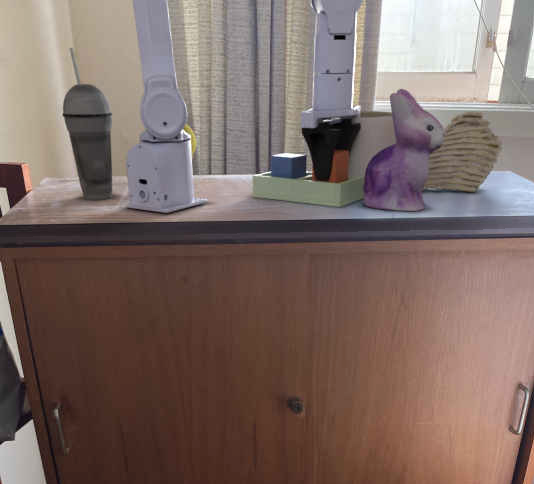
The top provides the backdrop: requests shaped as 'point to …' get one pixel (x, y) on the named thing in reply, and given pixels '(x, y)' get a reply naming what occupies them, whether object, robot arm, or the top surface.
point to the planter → (370, 139)
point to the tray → (308, 189)
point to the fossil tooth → (464, 154)
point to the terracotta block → (337, 168)
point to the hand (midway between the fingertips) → (329, 177)
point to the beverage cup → (90, 137)
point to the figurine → (403, 158)
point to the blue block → (288, 165)
